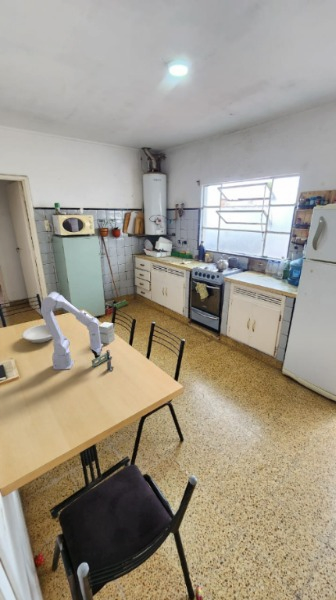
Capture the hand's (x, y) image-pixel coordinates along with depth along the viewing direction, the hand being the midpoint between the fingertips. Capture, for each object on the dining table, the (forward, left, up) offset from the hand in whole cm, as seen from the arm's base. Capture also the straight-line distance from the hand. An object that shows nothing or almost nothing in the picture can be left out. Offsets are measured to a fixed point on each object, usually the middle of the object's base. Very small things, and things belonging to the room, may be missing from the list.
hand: (97, 359), depth 148 cm
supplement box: (0, +26, -3) cm, 26 cm away
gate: (+1, -1, -2) cm, 2 cm away
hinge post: (+5, +4, -3) cm, 7 cm away
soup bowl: (-46, +30, -3) cm, 55 cm away
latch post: (+8, -6, -3) cm, 10 cm away
